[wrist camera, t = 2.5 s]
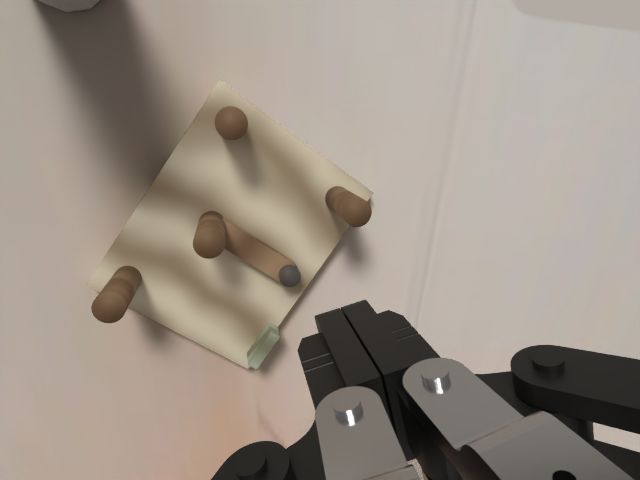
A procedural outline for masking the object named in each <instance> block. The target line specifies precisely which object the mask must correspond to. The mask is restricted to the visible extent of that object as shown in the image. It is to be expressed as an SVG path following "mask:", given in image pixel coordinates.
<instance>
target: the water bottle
mask: <svg viewBox="0 0 640 480" xmlns="http://www.w3.org/2000/svg"><path fill="white" fill-rule="evenodd" d="M38 1H40V2H42V3H44V4H47V5H49V6H52V7H54V8H57V9H60V10H62V11H65V12H71V11H78V10H86V9H91V8H92V7H93V6H94V5H95V4H96V3H97V2H98V1H99V0H38Z"/></svg>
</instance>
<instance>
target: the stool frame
mask: <svg viewBox="0 0 640 480" xmlns="http://www.w3.org/2000/svg"><path fill="white" fill-rule="evenodd" d="M372 194H373V192H372V191H370V190H369V189H368V188H366V187H365V186H364V185H362V184H361V183H360V182H358V181H357V180H355V179H354V178H353V177H351V176H350V175H349V174H347V173H346V172H345V171H343V170H342V169H341V168H339V167H338V166H337V165H335V164H334V163H332V162H331V161H330V160H328V159H327V158H326V157H324V156H323V155H322V154H320V153H319V152H318V151H316V150H315V149H313V148H312V147H311V146H309V145H308V144H307V143H305V142H304V141H303V140H301V139H300V138H299V137H297V136H296V135H295V134H293V133H292V132H290V131H289V130H288V129H286V128H285V127H284V126H282V125H281V124H280V123H278V122H277V121H276V120H274V119H273V118H271V117H270V116H269V115H267V114H266V113H265V112H263V111H262V110H261V109H259V108H258V107H257V106H255V105H254V104H253V103H251V102H250V101H248V100H247V99H246V98H244V97H243V96H242V95H240V94H239V93H238V92H236V91H235V90H234V89H232V88H231V87H229V86H228V85H227V84H225V83H224V82H223V81H221V80H219V82H218V83H217V85H216V87H215V88H214V90H213V91H212V93H211V94H210V96H209V97H208V99H207V100H206V102H205V103H204V105H203V106H202V108H201V109H200V111H199V113H198V114H197V116H196V117H195V119H194V120H193V122H192V123H191V125H190V126H189V128H188V129H187V131H186V132H185V134H184V136H183V137H182V139H181V140H180V142H179V143H178V145H177V146H176V148H175V149H174V151H173V152H172V154H171V155H170V157H169V159H168V160H167V162H166V163H165V165H164V166H163V168H162V169H161V171H160V172H159V174H158V175H157V177H156V178H155V180H154V181H153V183H152V185H151V186H150V188H149V189H148V191H147V192H146V194H145V195H144V197H143V198H142V200H141V201H140V203H139V204H138V206H137V208H136V209H135V211H134V212H133V214H132V215H131V217H130V218H129V220H128V221H127V223H126V224H125V226H124V227H123V229H122V231H121V232H120V234H119V235H118V237H117V238H116V240H115V241H114V243H113V244H112V246H111V247H110V249H109V250H108V252H107V253H106V255H105V257H104V258H103V260H102V261H101V263H100V264H99V266H98V267H97V269H96V270H95V272H94V273H93V275H92V276H91V278H90V280H89V281H88V283H87V284H86V286H88V287H90V288H92V289H94V290H95V291H97V292H99V295H98V296H97V297H96V299H95V300H94V302H93V304H92V313H93V315H94V316H95V318H96V319H98V320H99V321H101V322H104V323H114V322H116V321H118V320H120V319H121V318H122V317H123V315H124V314H125V312H126V310H127V308H130V309H132V310H134V311H136V312H138V313H140V314H142V315H144V316H146V317H148V318H150V319H152V320H154V321H156V322H157V323H159V324H161V325H163V326H165V327H167V328H169V329H171V330H173V331H175V332H177V333H179V334H181V335H183V336H185V337H187V338H189V339H190V340H192V341H194V342H196V343H198V344H200V345H202V346H204V347H206V348H208V349H210V350H212V351H214V352H216V353H218V354H220V355H221V356H223V357H225V358H227V359H229V360H231V361H233V362H235V363H237V364H239V365H241V366H243V367H245V368H247V369H248V368H249V367H250V366H251V367H252V368H254V369H256V370H257V368H258V367H259V366H260V364H261V363H262V361H263V360H264V359H265V357H266V356H267V354H268V353H269V352H270V350H271V349H272V348H273V346H274V345H275V343H276V342H277V341H278V339H279V338H280V335H279V331H278V326H279V325H280V323H281V322H282V320H283V319H284V318H285V316H286V315H287V313H288V312H289V311H290V309H291V308H292V306H293V305H294V304H295V302H296V301H297V299H298V298H299V297H300V295H301V294H302V292H303V291H304V290H305V288H306V287H307V285H308V284H309V283H310V281H311V280H312V278H313V277H314V276H315V274H316V273H317V271H318V270H319V269H320V267H321V266H322V264H323V263H324V262H325V260H326V259H327V257H328V256H329V255H330V253H331V252H332V250H333V249H334V248H335V246H336V245H337V243H338V242H339V241H340V239H341V238H342V236H343V235H344V234H345V232H346V231H347V229H348V228H349V227H350V226H352V227H360V226H363V225H365V224H366V223H367V222H368V221H369V219H370V217H371V213H372V211H371V206H370V204H369V203H368V202H367V201H368V200H369V199H370V197H371V196H372ZM208 211H215V212H218V213H220V214H221V215H222V216H223V217H224V218H226V219H227V220H229V221H231V222H232V223H234V224H235V225H237V226H238V227H240V228H242V229H243V230H245V231H246V232H248V233H250V234H251V235H253V236H254V237H256V238H258V239H259V240H261V241H262V242H264V243H266V244H267V245H269V246H270V247H272V248H273V249H275V250H277V251H278V252H280V253H281V254H283V255H285V256H286V257H288V258H289V259H291V260H293V261H294V263H295V264H296V265H297V267H298V270H299V272H300V274H301V279H300V282H299V283H298V284H297V285H296V286H294V287H285V286H284V285H282V283H280V282H279V281H277V280H276V279H274V278H272V277H271V276H269V275H267V274H266V273H264V272H262V271H261V270H259V269H257V268H256V267H254V266H252V265H251V264H249V263H247V262H246V261H244V260H242V259H241V258H239V257H237V256H236V255H234V254H232V253H231V252H229V251H227V250H226V249H224V250H223V252H222V253H221V254H220V255H219V256H217V257H215V258H212V259H206V258H202V257H200V256H199V255H198V254H197V253H196V252H195V250H194V248H193V239H194V235H195V232H196V229H197V225H198V222H199V219H200V217H201V216H202V215H203V214H204V213H205V212H208Z"/></svg>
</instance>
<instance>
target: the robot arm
mask: <svg viewBox="0 0 640 480" xmlns="http://www.w3.org/2000/svg"><path fill="white" fill-rule="evenodd" d="M315 321H316V325H317V328H318V332H319V333H318V334H315V335H311V336H308V337H305V338H302V340H301V343H300V345H299V348H298V354H299V357H300V360H301V364H302V367H303V370H304V374H305V377H306V380H307V384H308V387H309V391H310V394H311V397H312V400H313V404H314V407H315V410H316V412H315V421H314V423H313V425H312V427H311V428H310V430H309V431H308V432H307V433H306V435H304V436H303V437H302V438H301V439H300V440H299V441H297V442H296V443H294V444H293V445H291V446H290V447H288V448H287V449H285V448H284V447H283V446H282V445H280V444H278V443H276V442H271V441H260V442H255V443H252V444H249V445H247V446H244V447H243V448H241V449H239V450H237V451H236V452H235V453H233V454H232V455H231V456H230V457H229V458H228V459H227V460H226V461H225V462H224V463H223V465H222V466H221V467H220V469H219V470H218V471H217V472H216V474H215V475H214V476H213V478H212V479H211V480H420V478H419V476H418V474H417V471H416V469H415V468H414V466H413V465H412V464H411V465H408V463H407V461H410V460H413V459H415V458H416V459H417V461H418V462H419V464H420V466H421V468H422V473H423V477H424V480H640V452H636V451H632V450H629V449H625V448H622V447H618V446H615V445H611V444H608V443H604V442H601V441H597V440H594V434H593V422H595V423H599V424H602V425H606V426H610V427H614V428H618V429H622V430H625V431H629V432H633V433H637V434H640V360H638V359H632V358H626V357H620V356H614V355H608V354H602V353H597V352H591V351H585V350H579V349H573V348H567V347H561V346H554V345H537V346H531V347H527V348H525V349H522V350H520V351H519V352H517V353H516V354H515V355H514V356H513V357H512V360H511V371H509V372H500V373H491V374H473V373H472V372H471V371H470V370H469V369H468V368H467V367H465V366H464V365H463V364H461V363H460V362H458V361H455V360H452V359H447V358H441V357H440V356H439V355H438V354H437V353H436V352H435V351H434V350H433V349H432V347H431V346H430V345H429V344H428V343H427V342H426V341H425V340H424V339H423V337H422V336H421V335H420V334H418V332H417V331H416V330H415V329H414V328H413V327H412V326H411V324H410V323H409V322H408V321H407V320H406V319H405V318H404V316H402V315H400V314H397V313H395V312H392V311H390V310H388V311H385V312H382V313H379V314H377V313H376V312H375V311H374V309H373V308H372V307H371V306H370V304H369V303H368V302H367V301H366V300H362V301H359V302H356V303H353V304H350V305H347V306H344V307H341V310H340V308H338V309H335V310H332V311H328V312H325V313H322V314H319V315H316V316H315Z"/></svg>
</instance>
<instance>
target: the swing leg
mask: <svg viewBox="0 0 640 480" xmlns="http://www.w3.org/2000/svg"><path fill="white" fill-rule="evenodd" d="M193 248H194V250H195V252H196V253H197V254H198V255H199V256H200V257H202V258H206V259H212V258H215V257H217V256H219V255H220V254H221V253H222V252H223V250H224V249H226V250H227V251H229V252H231V253H232V254H234V255H236V256H237V257H239V258H241V259H242V260H244V261H246V262H247V263H249V264H251V265H252V266H254V267H256V268H257V269H259V270H261V271H262V272H264V273H266V274H267V275H269V276H271V277H272V278H274V279H276V280H277V281H279V282H280V283H282V285H284V286H285V287H294V286H296V285H297V284H298V283H299V282H300V279H301V274H300V272H299V270H298V267H297V265H296V264H295V263H294V261H293V260H291V259H289V258H288V257H286V256H285V255H283V254H281V253H280V252H278V251H277V250H275V249H273V248H272V247H270V246H269V245H267V244H266V243H264V242H262V241H261V240H259V239H258V238H256V237H254V236H253V235H251V234H250V233H248V232H246V231H245V230H243V229H242V228H240V227H238V226H237V225H235V224H234V223H232V222H231V221H229V220H227V219H226V218H224V217H223V216H222V215H221V214H220V213H218V212H215V211H208V212H205V213H204V214H203V215H202V216H201V217H200V219H199V222H198V225H197V229H196V232H195V235H194V239H193Z"/></svg>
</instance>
